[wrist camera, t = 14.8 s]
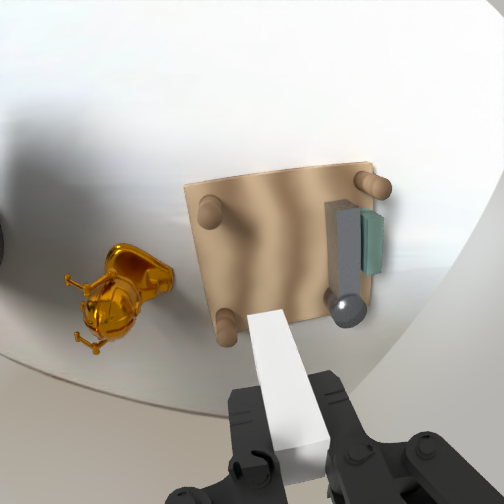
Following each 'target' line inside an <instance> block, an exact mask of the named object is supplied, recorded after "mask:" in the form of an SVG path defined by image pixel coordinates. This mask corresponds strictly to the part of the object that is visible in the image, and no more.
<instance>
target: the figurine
mask: <svg viewBox="0 0 504 504" xmlns="http://www.w3.org/2000/svg"><path fill="white" fill-rule="evenodd" d="M64 277H65V281H66V282H65V284H66V285H67V286H70V285H73V286H74V287H76V288H78V289H80V290H81V291H83V296H84V297H87V299H86V301H82V303H81V311H82V312H83V318H84V322H85V324H86V326H87V327H88V328H89V330H90V332H91V333H92V334H93V335H94V336H96V337H97V338H98V339H99V340H101V341H100V342H99V343H92V344H91V343H89V342H88V341H86V340H85V339H83V338H82V337H80V333H79V332H75V333H74V335H75V340H76V342H82V343H83V344H85V345H86V346H88V347H89V348H91V349H92V350H93V354H95V355H98V354H99V353H100V350H99V348H101V347H102V346H103V345H104V344H106V343H107V342H108V341H109V342H113V341H115V340H117V339H121V338H123V337H124V336H126V335H127V334H128V333H129V331H130V330H131V329H132V327H133V326H134V324H135V321H136V316H137V315H138V314H139V313H140V312H141V305H142V303H144V302H145V301H147V300H149V299H152V298H154V297H156V296H158V295H161V294H163V293H166V292H168V291H171V289H172V285H173V271H172V268H170V267H169V266H167V265H165V264H164V263H162V262H161V261H159V260H157V259H156V258H154V257H153V256H151V255H150V254H148V253H146V252H144V251H143V250H141V249H139V248H137V247H135V246H133V245H130V244H125V243H120V244H117V245H115V246H113V247H112V248H111V250H110V251H109V253H108V255H107V258H106V263H105V273H104V275H102V276H101V277H99V278H98V279H97V280H96V281H94V282H93V283H92V284H89V283H84V284H83V285H81V284H79V283H77V282H75V281H74V280H72V279H70V278H71V276H70V274H66V275H64Z"/></svg>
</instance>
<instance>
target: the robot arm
mask: <svg viewBox="0 0 504 504" xmlns="http://www.w3.org/2000/svg"><path fill="white" fill-rule="evenodd" d="M2 257H3V236H2V230H1V226H0V264H1V261H2ZM247 319H248V325H249V331H250V337H251V343H252V349H253V355H254V360H255V366H256V371H257V376H258V381H259V386H254V387H248V388H242V389H235V390H232V392H231V395H230V397H229V399H228V411H229V421H230V431H231V441H232V450H233V457H232V458H231V460H230V461H229V466H228V471H229V475H228V476H227V477H226V478H224V479H223V480H222V481H220V482H218V483H216V484H214V485H211V486H208V487H205V488H202V489H198V488H195V487H182V488H179V489H176V490H175V491H173V492H172V493H171V494H169V496H168V498H167V500H166V501H165V504H288V502H287V497H286V493H285V489H284V486H286V485H291V484H296V483H301V482H305V481H309V480H314V479H317V478H322V477H324V476H325V473H326V475H327V478H328V481H329V486H328V491H327V498H330V497H331V499H332V502H333V504H504V497H503V496H502V495H501V494H500V493H499V492H498V491H497V490H496V489H495V488H494V487H493V486H492V485H491V484H490V483H489V482H488V481H487V480H486V479H485V478H483V476H481V475H480V474H479V473H478V472H477V471H476V470H475V469H474V468H473V467H472V466H471V465H470V464H469V463H468V462H467V461H466V460H465V459H464V458H463V457H462V456H461V455H460V454H459V453H458V452H457V451H455V449H454V448H452V447H451V446H450V445H449V444H448V443H447V442H446V441H445V440H444V439H443V438H442V437H441V436H439V435H438V434H436V433H433V432H429V431H427V432H420V433H418V434H416V435H414V436H413V437H412V438H411V439H410V440H409V441H408V442H400V443H380V442H377V441H375V440H373V439H371V438H370V437H369V436H368V435H366V433H365V431H364V430H363V427H362V425H361V423H360V421H359V419H358V417H357V414H356V412H355V410H354V408H353V406H352V404H351V401H350V400H349V397H348V395H347V393H346V391H345V389H344V387H343V384H342V382H341V380H340V378H339V377H337V376H336V375H335V374H334V373H333V372H331V371H330V370H327V371H323V372H319V373H315V374H311V375H307V374H306V371H305V369H304V366H303V363H302V360H301V358H300V355H299V352H298V350H297V347H296V344H295V342H294V339H293V336H292V334H291V331H290V328H289V326H288V323H287V320H286V318H285V315H284V312H283V310H282V309H280V310H275V311H269V312H264V313H258V314H252V315H247Z"/></svg>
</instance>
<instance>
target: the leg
mask: <svg viewBox="0 0 504 504" xmlns="http://www.w3.org/2000/svg"><path fill="white" fill-rule="evenodd" d="M324 206H325V221H326V237H327V256H328V282H329V287H328V288H327V290H326V291H325V293H324V297H323V301H324V304H325V306H326V308H327V309H328V311H329V313H330V314H331V316H332V318H333V319H334V321H335V323H336V324H337V325H338V326H339V327H341V328H351V327H354V326H356V325H358V324H359V323H360V322H361V321H362V320H363V319H364V317H365V315H366V313H367V305H366V303H365V302H364V301H363V299H362V298H361V297H360V277H361V224H360V207H358V206H357V205H355V204H353V203H352V202H350V201H349V200H347V199H344V200H337V201H330V202H324Z"/></svg>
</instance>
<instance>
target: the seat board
mask: <svg viewBox="0 0 504 504" xmlns="http://www.w3.org/2000/svg"><path fill="white" fill-rule="evenodd" d="M184 191H185V197H186V202H187V208H188V213H189V218H190V223H191V228H192V233H193V238H194V243H195V248H196V253H197V257H198V262H199V267H200V271H201V276H202V280H203V285H204V289H205V294H206V298H207V302H208V307H209V311H210V315H211V319H212V324H213V328H214V332H215V336H216V339H217V343H218V344H219V345H220V346H222V347H232V346H234V345H235V344H236V342H237V333H236V332H242V331H248V330H249V325H248V319H247V315H252V314H258V313H264V312H269V311H275V310H280V309H282V310H283V312H284V315H285V318H286V320H287V323H292V322H297V321H302V320H307V319H312V318H316V317H321V316H326V315H330V313H329V311H328V309H327V308H326V306H325V304H324V301H323V297H324V293H325V291H326V290H327V288H328V287H329V282H328V256H327V237H326V221H325V206H324V202H330V201H337V200H344V199H347V200H349V201H350V202H352V203H353V204H355V205H357V206H358V207H360V224H361V277H360V297H361V298H362V299H363V301H364V302H365V303H366V305H367V306H369V304H370V291H371V276H372V274H377V273H381V267H382V249H383V219H384V217H382V216H381V215H379V214H377V213H376V212H374V211H373V197H374V198H376V199H378V200H385V199H387V198H388V197H389V196H390V194H391V192H392V185H391V183H390V181H389V180H388V179H386V178H383V177H380V176H378V175H375V174H373V165H372V163H370V162H355V163H343V164H332V165H321V166H311V167H302V168H293V169H285V170H277V171H269V172H261V173H254V174H247V175H240V176H234V177H227V178H221V179H215V180H209V181H203V182H197V183H191V184H186V185H184Z"/></svg>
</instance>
